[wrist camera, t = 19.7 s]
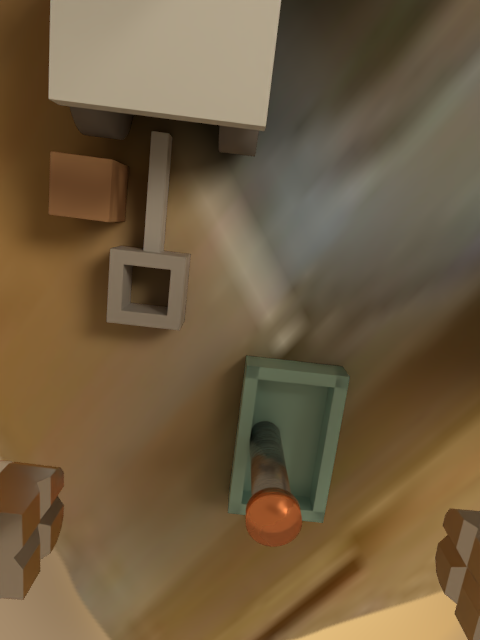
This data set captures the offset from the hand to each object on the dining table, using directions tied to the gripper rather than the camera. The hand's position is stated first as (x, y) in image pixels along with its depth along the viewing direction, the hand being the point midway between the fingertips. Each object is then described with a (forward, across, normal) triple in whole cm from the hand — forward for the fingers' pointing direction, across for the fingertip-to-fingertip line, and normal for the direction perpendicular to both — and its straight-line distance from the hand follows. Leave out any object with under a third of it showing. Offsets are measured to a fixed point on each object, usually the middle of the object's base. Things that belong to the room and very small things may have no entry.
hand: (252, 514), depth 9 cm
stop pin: (+26, -3, +12) cm, 29 cm away
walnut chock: (+27, +12, -6) cm, 30 cm away
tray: (+27, -4, +12) cm, 30 cm away
